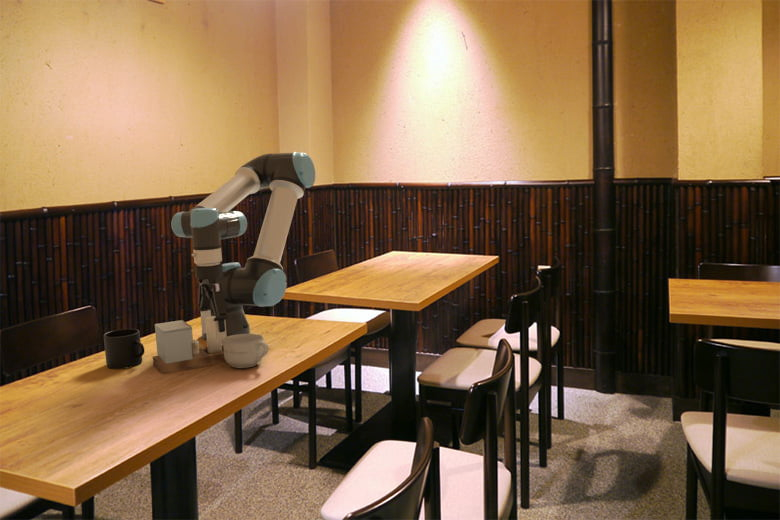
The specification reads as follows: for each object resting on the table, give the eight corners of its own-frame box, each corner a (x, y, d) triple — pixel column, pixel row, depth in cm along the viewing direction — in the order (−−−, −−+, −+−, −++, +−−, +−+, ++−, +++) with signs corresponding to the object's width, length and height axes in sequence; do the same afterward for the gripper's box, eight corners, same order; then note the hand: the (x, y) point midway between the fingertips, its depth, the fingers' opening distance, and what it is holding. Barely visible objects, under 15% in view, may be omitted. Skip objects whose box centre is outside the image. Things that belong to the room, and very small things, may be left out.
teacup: (216, 366, 183) (214, 337, 182) (249, 357, 191) (248, 329, 190) (246, 376, 174) (244, 346, 173) (280, 366, 182) (278, 337, 181)
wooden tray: (222, 352, 197) (220, 332, 196) (233, 360, 189) (231, 339, 188) (153, 365, 187) (151, 344, 186) (162, 374, 179) (160, 352, 178)
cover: (184, 350, 191) (182, 319, 190) (194, 358, 183) (191, 326, 181) (157, 355, 187) (154, 324, 186) (166, 363, 179) (163, 331, 178)
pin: (206, 358, 192) (203, 317, 190) (220, 355, 194) (217, 315, 192) (210, 361, 188) (207, 320, 187) (224, 359, 190) (221, 317, 189)
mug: (133, 371, 182) (130, 338, 181) (99, 367, 186) (95, 336, 185) (157, 361, 191) (154, 330, 190) (123, 358, 195) (120, 327, 194)
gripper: (182, 260, 196) (189, 330, 199) (208, 271, 175) (214, 349, 178) (208, 257, 199) (214, 326, 203) (236, 267, 178) (242, 344, 182)
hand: (214, 337), depth 190 cm, fingers open, 13 cm apart
